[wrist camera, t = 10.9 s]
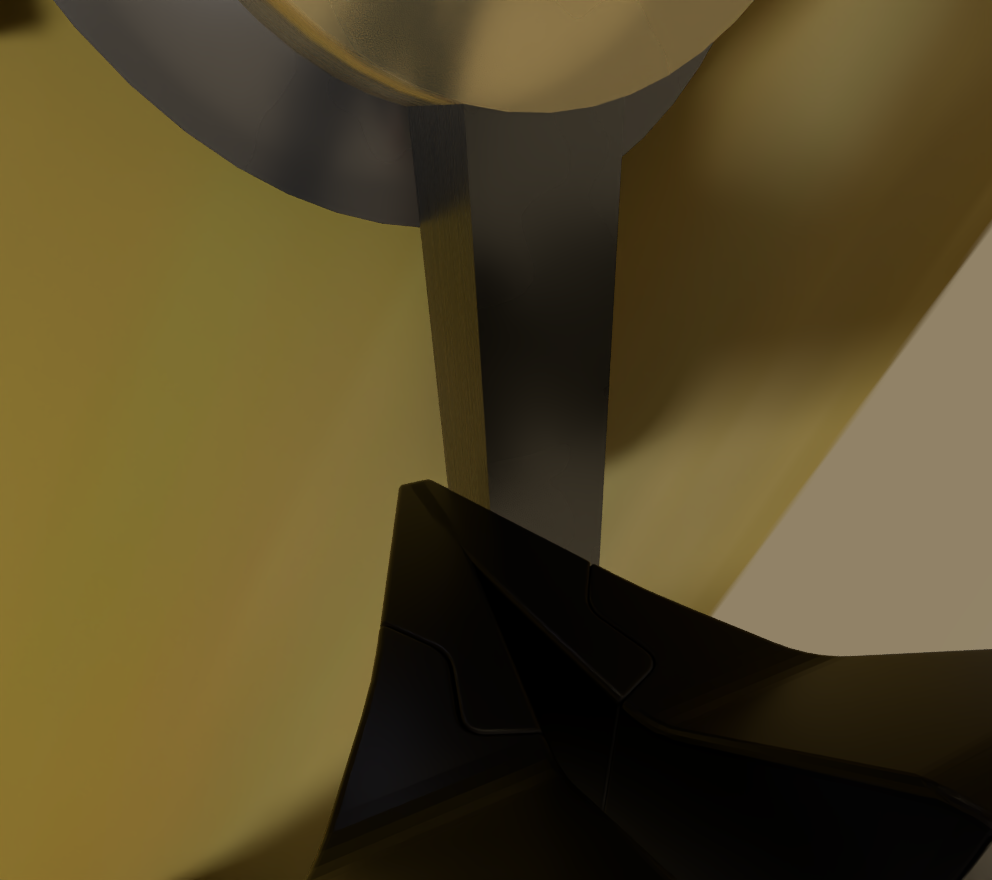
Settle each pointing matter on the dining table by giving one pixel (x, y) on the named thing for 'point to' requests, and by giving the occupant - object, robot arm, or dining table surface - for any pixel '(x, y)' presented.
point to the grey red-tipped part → (514, 214)
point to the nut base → (285, 102)
